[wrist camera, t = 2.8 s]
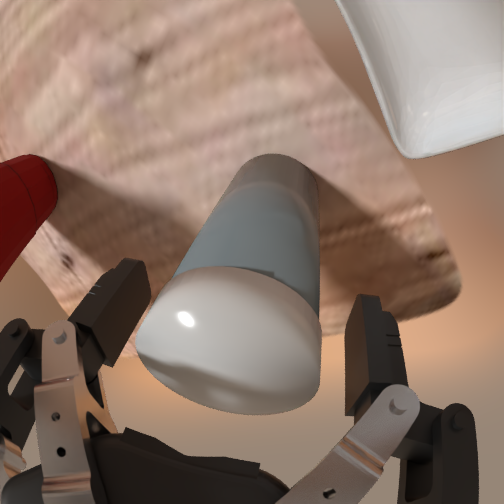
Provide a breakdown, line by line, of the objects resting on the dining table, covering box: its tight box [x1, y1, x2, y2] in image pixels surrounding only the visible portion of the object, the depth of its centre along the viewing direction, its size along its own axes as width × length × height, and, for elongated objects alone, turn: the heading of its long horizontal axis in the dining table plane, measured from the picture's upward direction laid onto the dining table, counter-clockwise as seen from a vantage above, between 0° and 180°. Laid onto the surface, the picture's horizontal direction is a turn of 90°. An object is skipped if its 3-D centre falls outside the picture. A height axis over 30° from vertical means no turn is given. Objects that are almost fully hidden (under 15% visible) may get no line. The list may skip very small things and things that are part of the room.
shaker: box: [135, 154, 322, 415], centre depth 12 cm, size 5×5×12 cm
